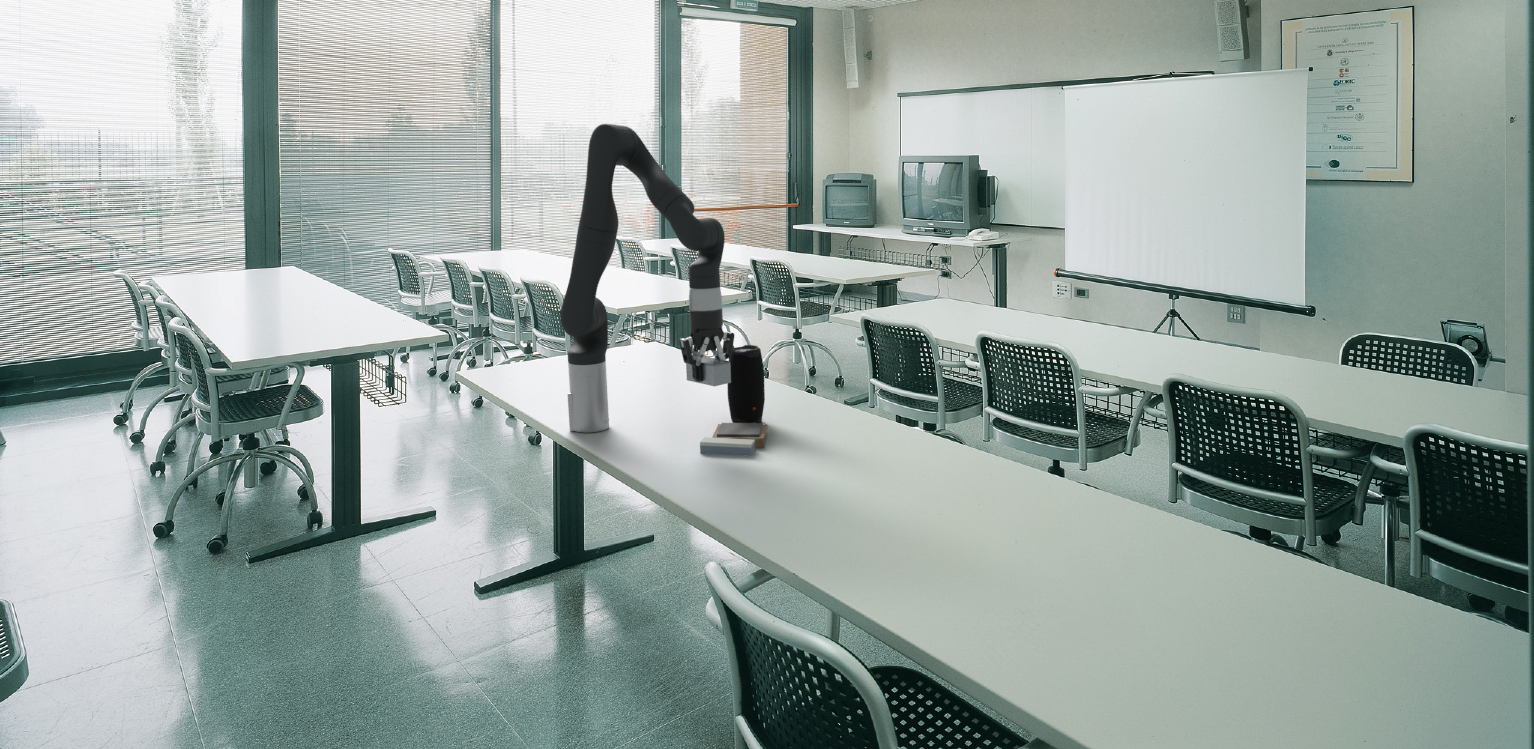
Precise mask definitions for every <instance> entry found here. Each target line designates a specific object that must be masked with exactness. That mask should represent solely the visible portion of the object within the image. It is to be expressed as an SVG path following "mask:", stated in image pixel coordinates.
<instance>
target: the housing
mask: <svg viewBox="0 0 1534 749" xmlns="http://www.w3.org/2000/svg"><path fill="white" fill-rule="evenodd" d="M700 366H701V371H702V381H701V382H697V381H695V380H694V379H693V376H692V375H693V374H692V365H691V364H687V363H685V367H686V368H685V369H686V373H685V374H686V381H688V382H691V383H692V382H693V383H697V384H703V385H707V386H711V387H718V386H719V387H720V386H722V385H728V383H731V368H730V361H729V360H727V359H726V360H720V359H715V357H709V356H705V355H704V356H703V357H702V360H701V364H700Z"/></svg>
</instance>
